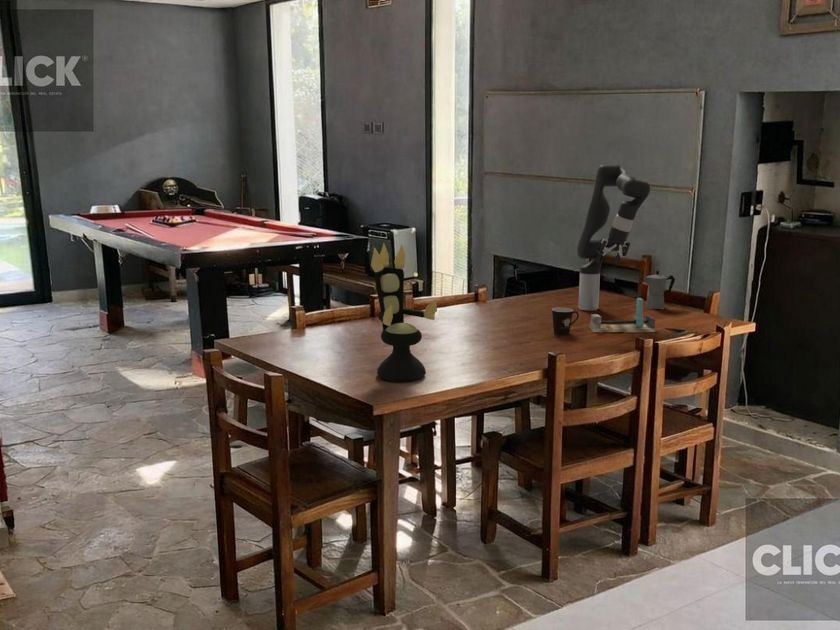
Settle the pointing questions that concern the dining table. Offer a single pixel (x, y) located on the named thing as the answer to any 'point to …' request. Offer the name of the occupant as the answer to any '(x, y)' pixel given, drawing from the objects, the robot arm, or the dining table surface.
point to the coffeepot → (657, 290)
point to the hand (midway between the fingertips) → (607, 263)
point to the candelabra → (397, 319)
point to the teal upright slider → (639, 313)
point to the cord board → (597, 326)
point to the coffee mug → (562, 320)
